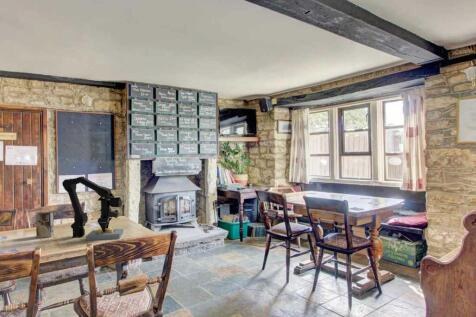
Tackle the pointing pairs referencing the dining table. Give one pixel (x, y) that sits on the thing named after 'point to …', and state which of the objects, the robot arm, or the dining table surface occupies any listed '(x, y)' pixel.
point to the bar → (108, 230)
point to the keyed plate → (104, 235)
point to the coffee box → (44, 224)
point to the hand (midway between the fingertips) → (105, 230)
